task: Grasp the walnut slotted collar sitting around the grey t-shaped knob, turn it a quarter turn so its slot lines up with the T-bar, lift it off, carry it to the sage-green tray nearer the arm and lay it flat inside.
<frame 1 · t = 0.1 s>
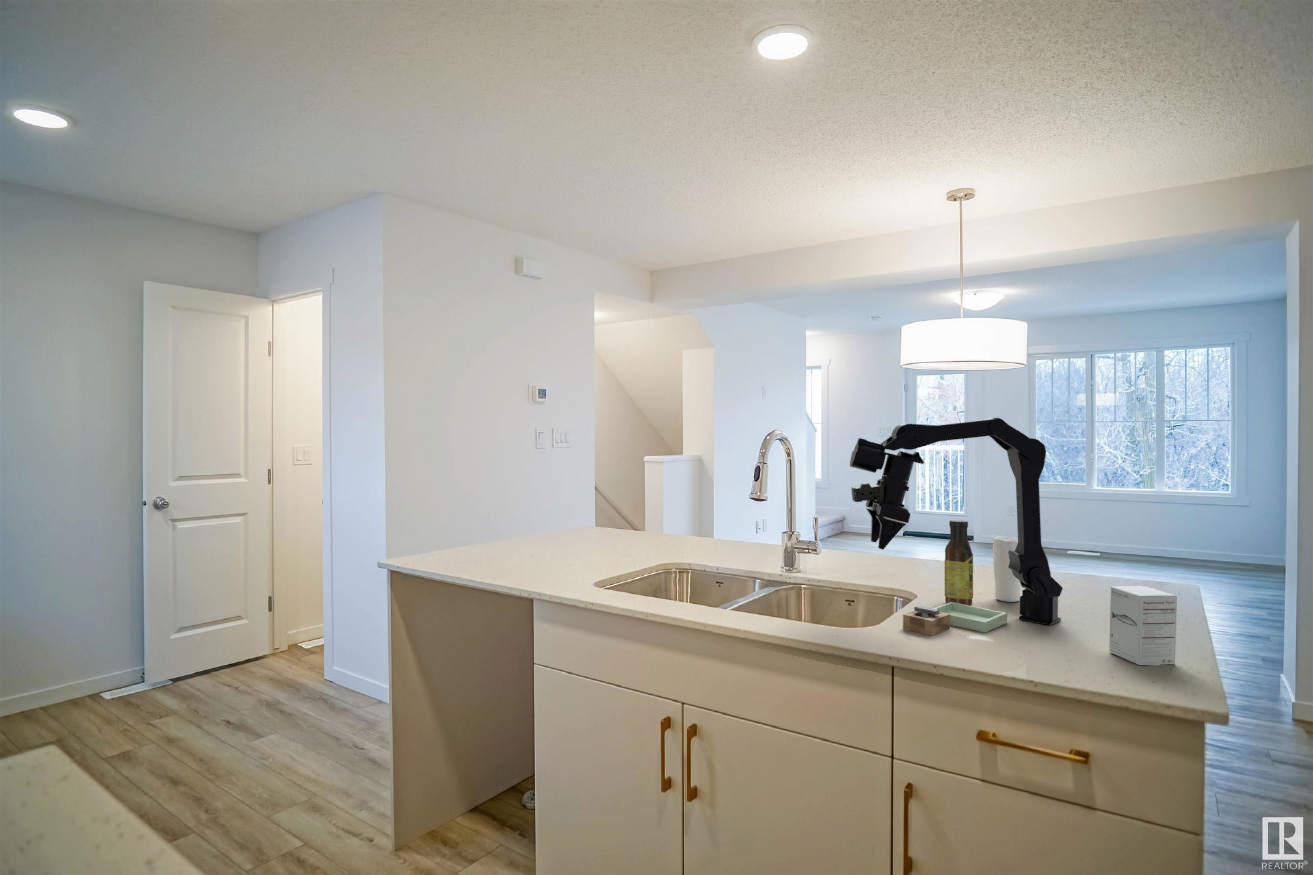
hand: (876, 545, 157), 15 cm above the worktop, tool pointing down, fingers open, 9 cm apart
supplement box: (1141, 660, 127), on the worktop
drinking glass: (1007, 600, 170), on the worktop
grey t-shaped knob: (926, 628, 145), on the worktop
collar: (926, 628, 145), on the worktop
tray: (966, 621, 151), on the worktop
sauce bottle: (958, 604, 166), on the worktop
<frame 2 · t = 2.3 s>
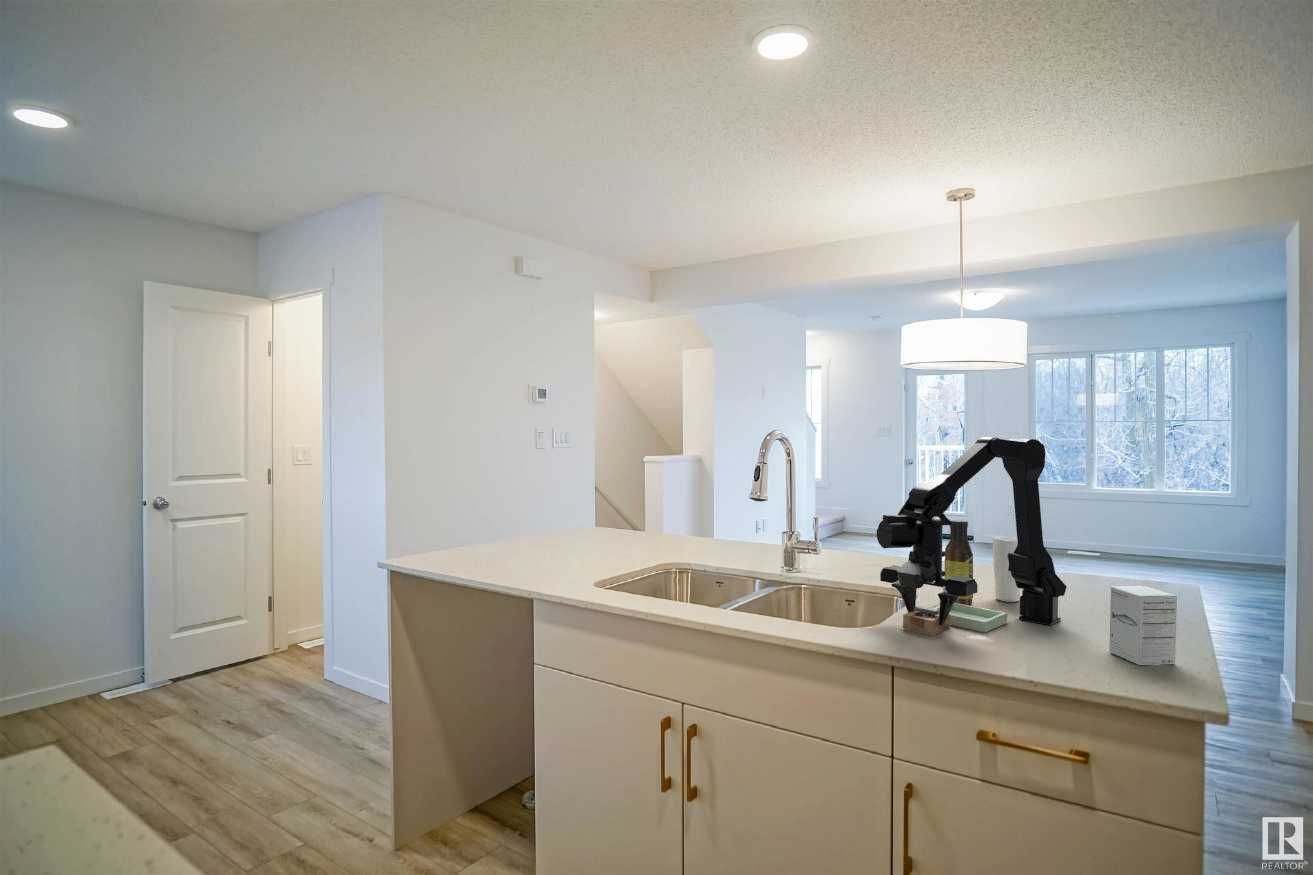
hand: (926, 621, 145), 2 cm above the worktop, tool pointing down, fingers closed on collar, 6 cm apart
collar: (926, 628, 145), on the worktop, touching gripper
everything else where it was.
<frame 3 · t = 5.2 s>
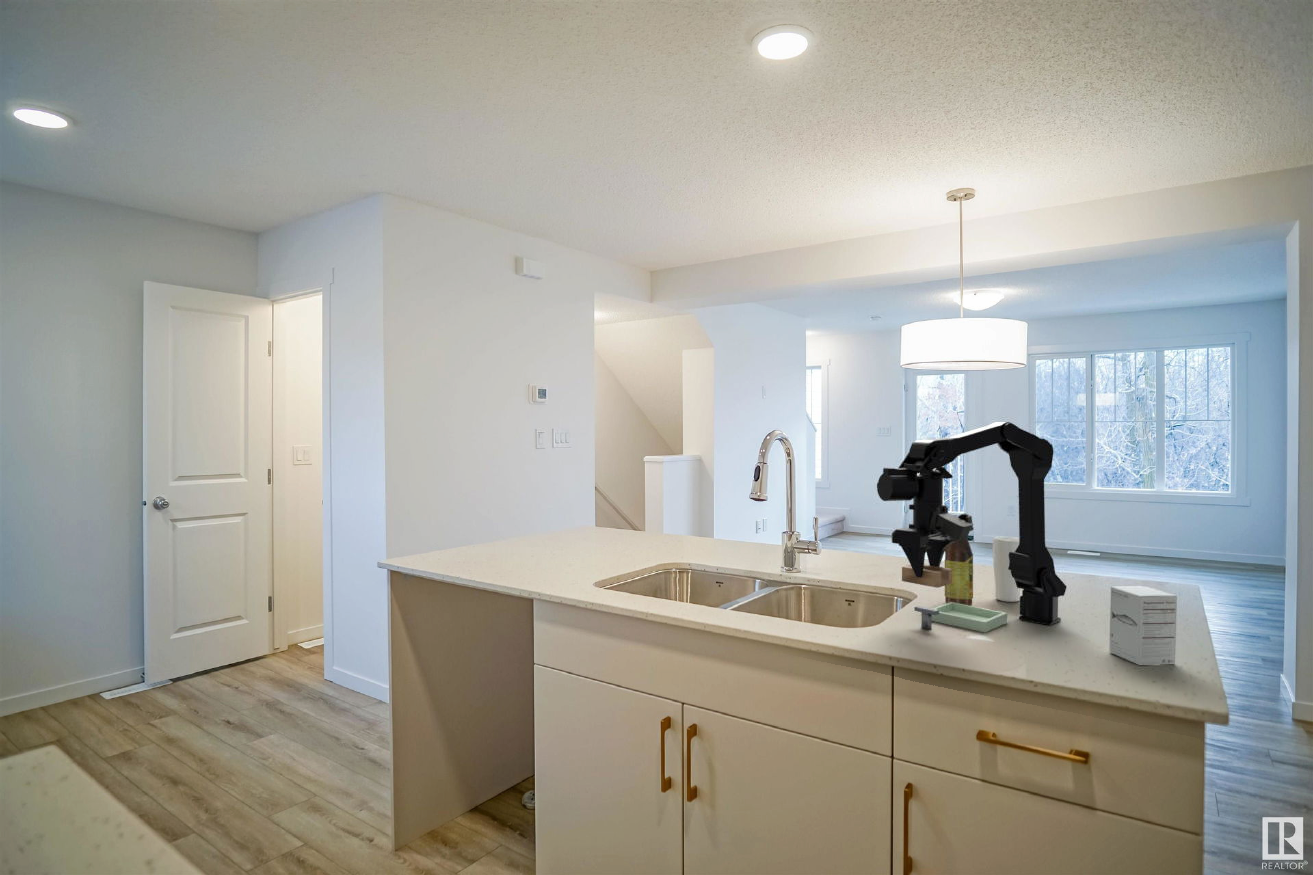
hand: (926, 574, 145), 11 cm above the worktop, tool pointing down, fingers closed on collar, 6 cm apart
collar: (926, 582, 145), point 10 cm above the worktop, touching gripper
everything else where it was.
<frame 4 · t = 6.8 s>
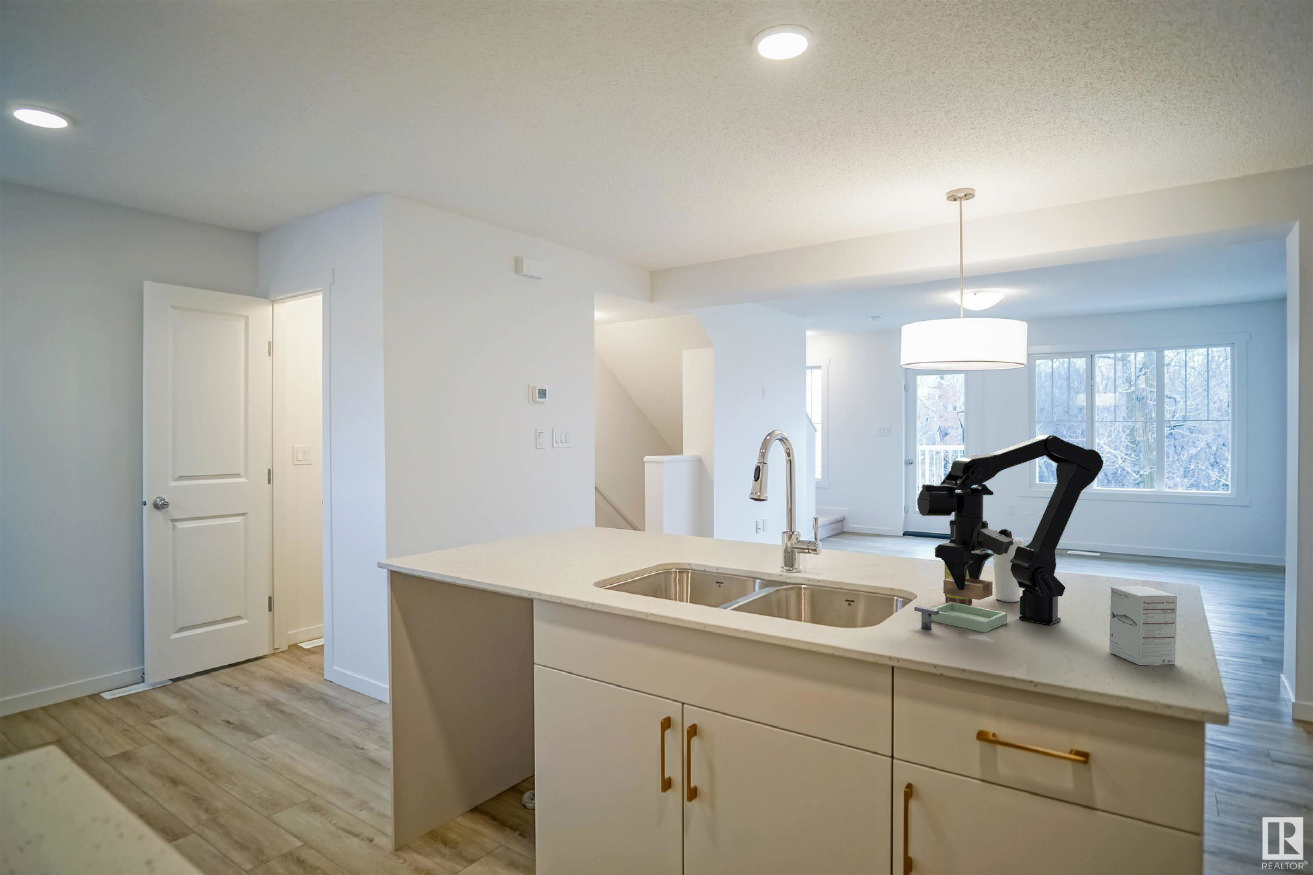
hand: (967, 587, 151), 7 cm above the worktop, tool pointing down, fingers closed on collar, 6 cm apart
collar: (967, 594, 151), point 6 cm above the worktop, touching gripper
everything else where it was.
when the fingers open (3 cm above the worktop, at t = 8.0 s): collar drops 1 cm, resting on tray.
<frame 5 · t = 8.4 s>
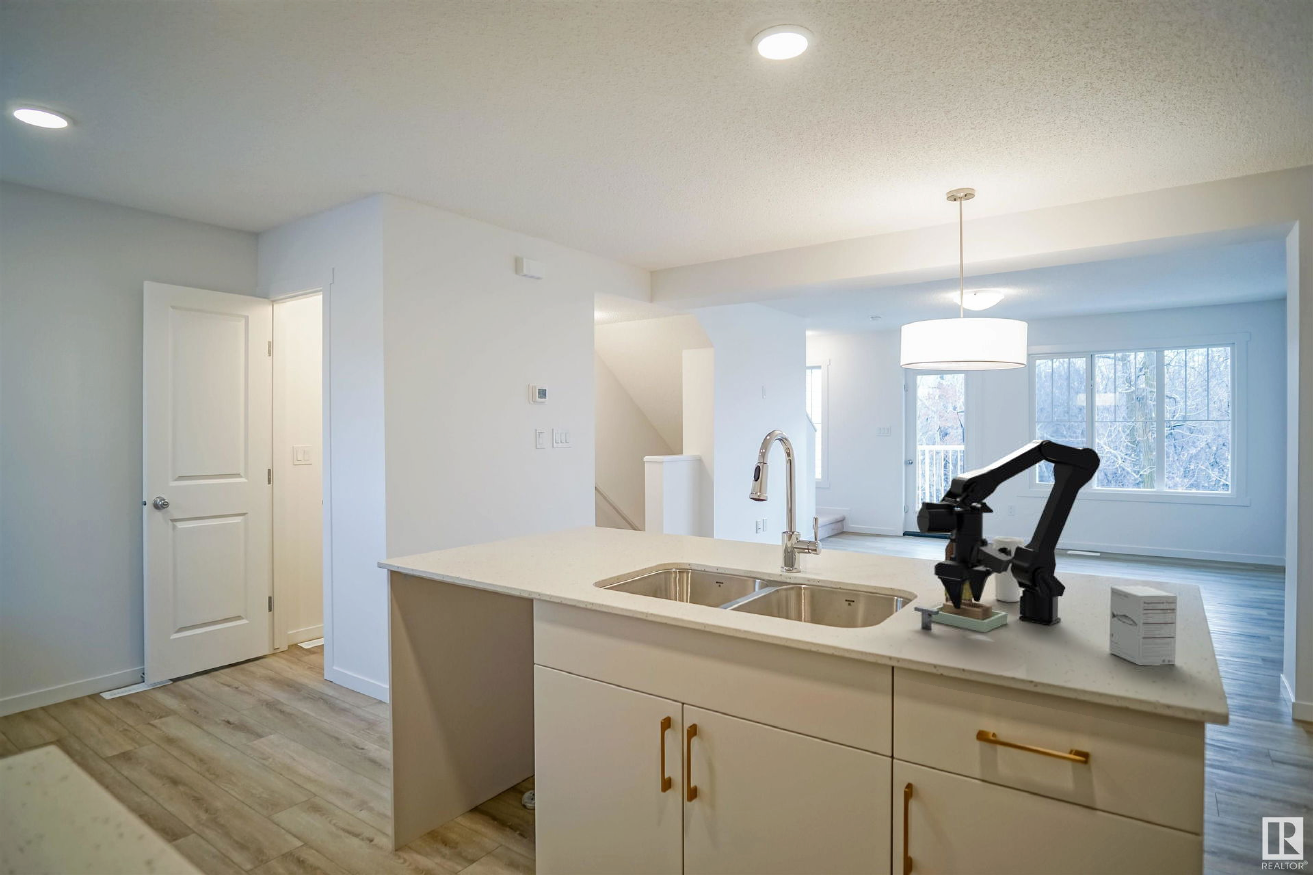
hand: (967, 605, 151), 3 cm above the worktop, tool pointing down, fingers open, 9 cm apart
collar: (967, 618, 151), point 1 cm above the worktop, touching tray
everything else where it was.
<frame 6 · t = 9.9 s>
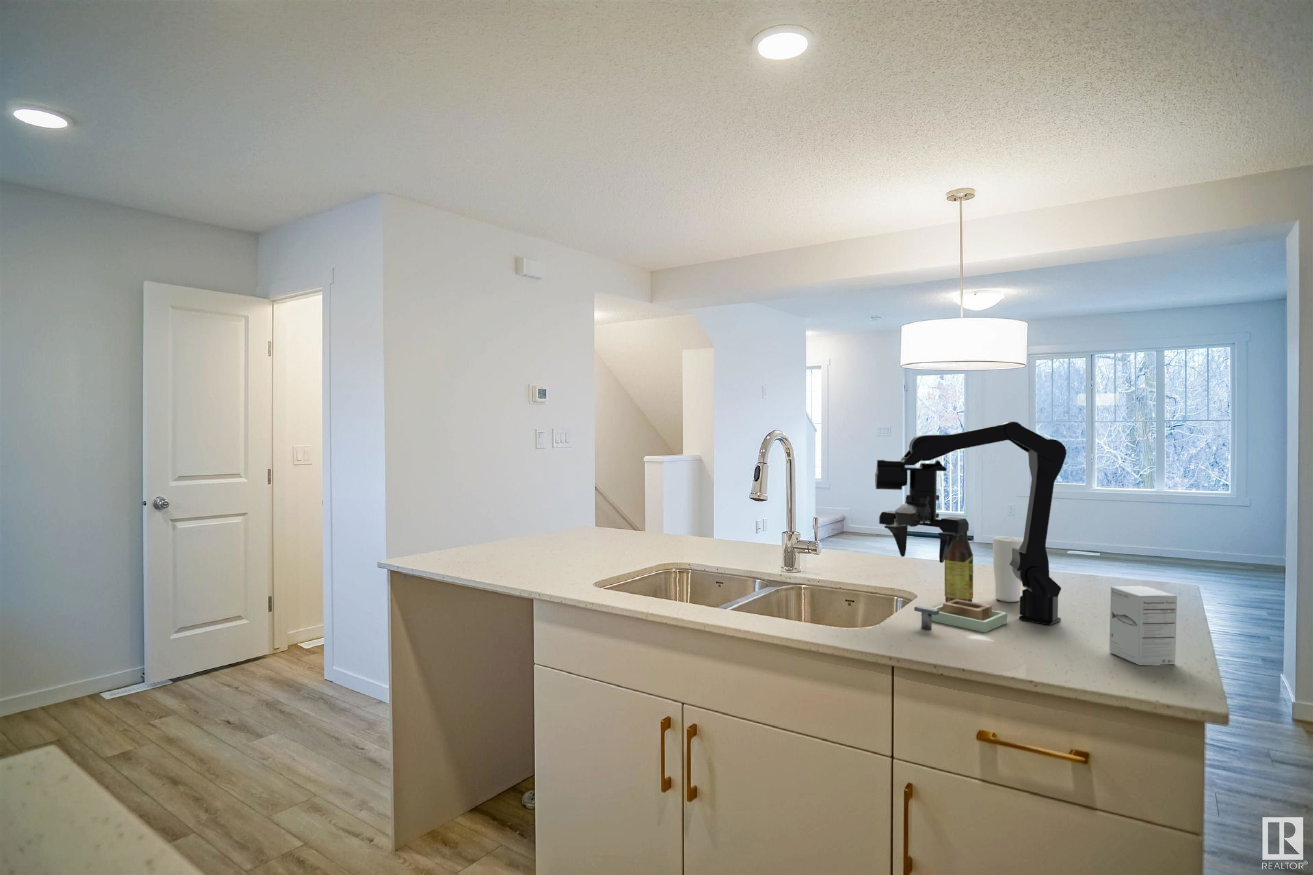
hand: (921, 559, 158), 12 cm above the worktop, tool pointing down, fingers open, 9 cm apart
nothing on the worktop moved.
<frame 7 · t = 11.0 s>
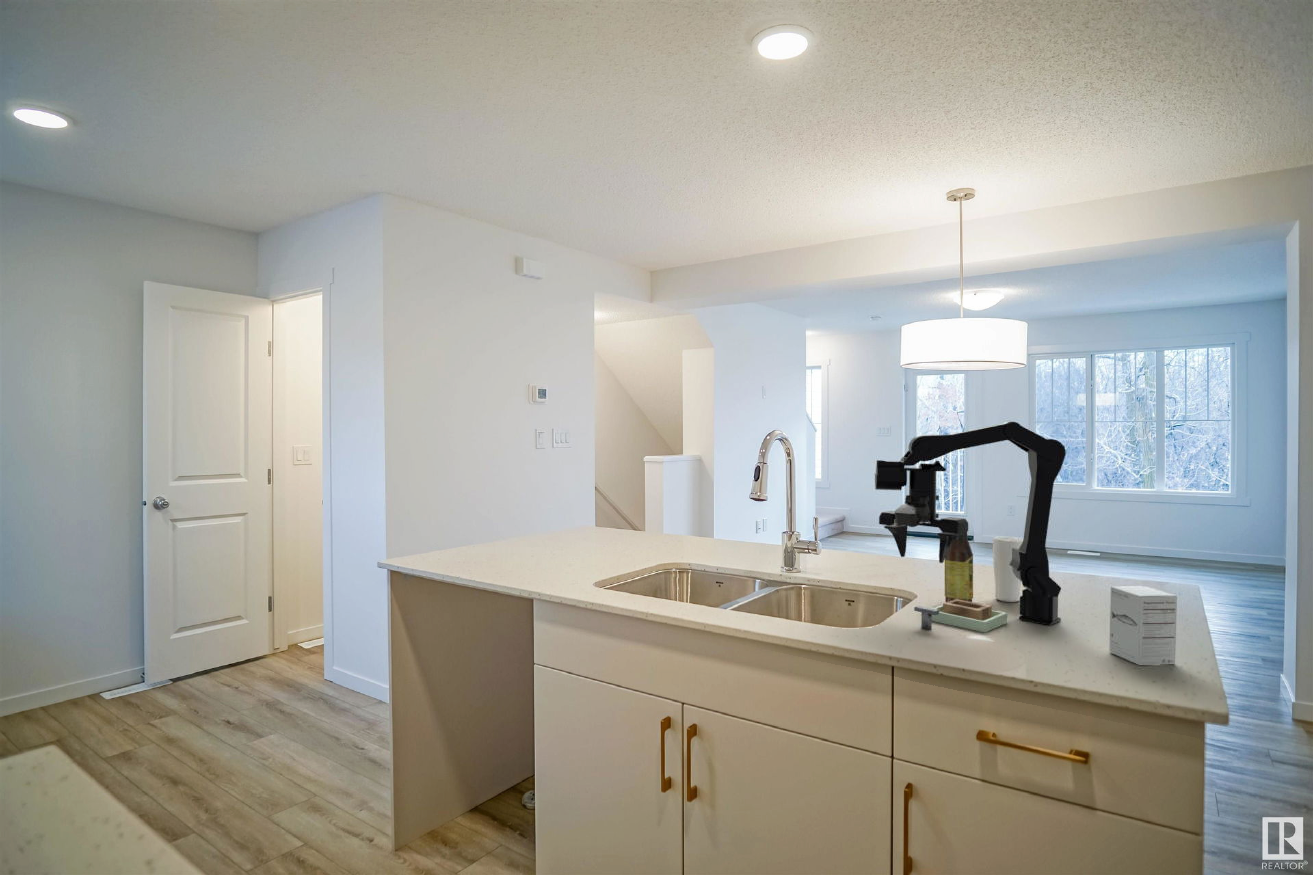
hand: (921, 559, 158), 12 cm above the worktop, tool pointing down, fingers open, 9 cm apart
nothing on the worktop moved.
at the end: collar inside the target area on the tray (0.0 cm from its centre), point 0.6 cm above the tray's base; collar tilted 0°; collar touching tray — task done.
